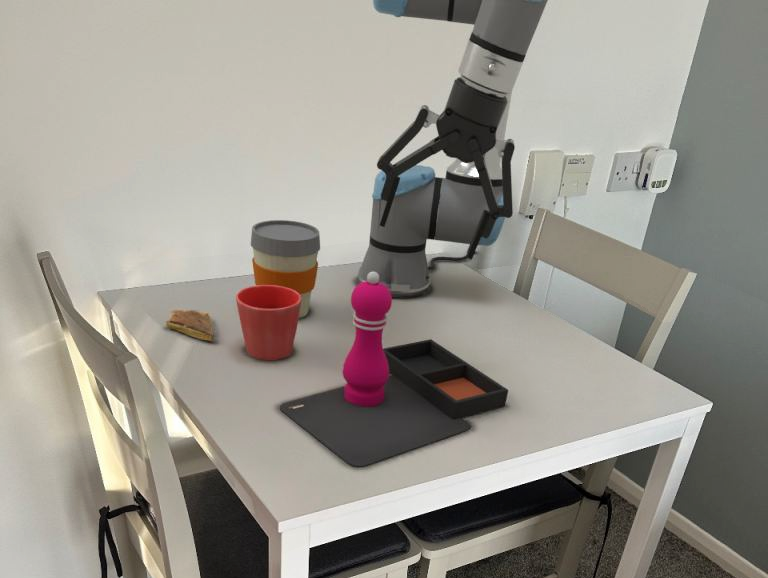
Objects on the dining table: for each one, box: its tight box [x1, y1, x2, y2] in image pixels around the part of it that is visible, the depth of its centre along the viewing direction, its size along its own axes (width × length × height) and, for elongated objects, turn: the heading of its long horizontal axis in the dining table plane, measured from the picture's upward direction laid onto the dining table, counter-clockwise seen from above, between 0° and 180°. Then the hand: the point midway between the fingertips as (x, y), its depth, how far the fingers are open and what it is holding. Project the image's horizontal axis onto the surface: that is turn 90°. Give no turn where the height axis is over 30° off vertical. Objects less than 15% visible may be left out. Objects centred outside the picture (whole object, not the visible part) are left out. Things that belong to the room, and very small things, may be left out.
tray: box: [383, 338, 509, 419], centre depth 127 cm, size 11×21×3 cm, turn 34°
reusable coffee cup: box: [250, 219, 321, 319], centre depth 143 cm, size 13×13×15 cm
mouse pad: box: [279, 374, 472, 469], centre depth 117 cm, size 23×20×1 cm
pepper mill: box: [342, 272, 393, 406], centre depth 116 cm, size 7×7×20 cm
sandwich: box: [165, 309, 214, 343], centre depth 135 cm, size 11×8×2 cm
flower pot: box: [235, 285, 301, 361], centre depth 129 cm, size 11×11×10 cm
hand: (426, 239), depth 114 cm, fingers open, 13 cm apart
